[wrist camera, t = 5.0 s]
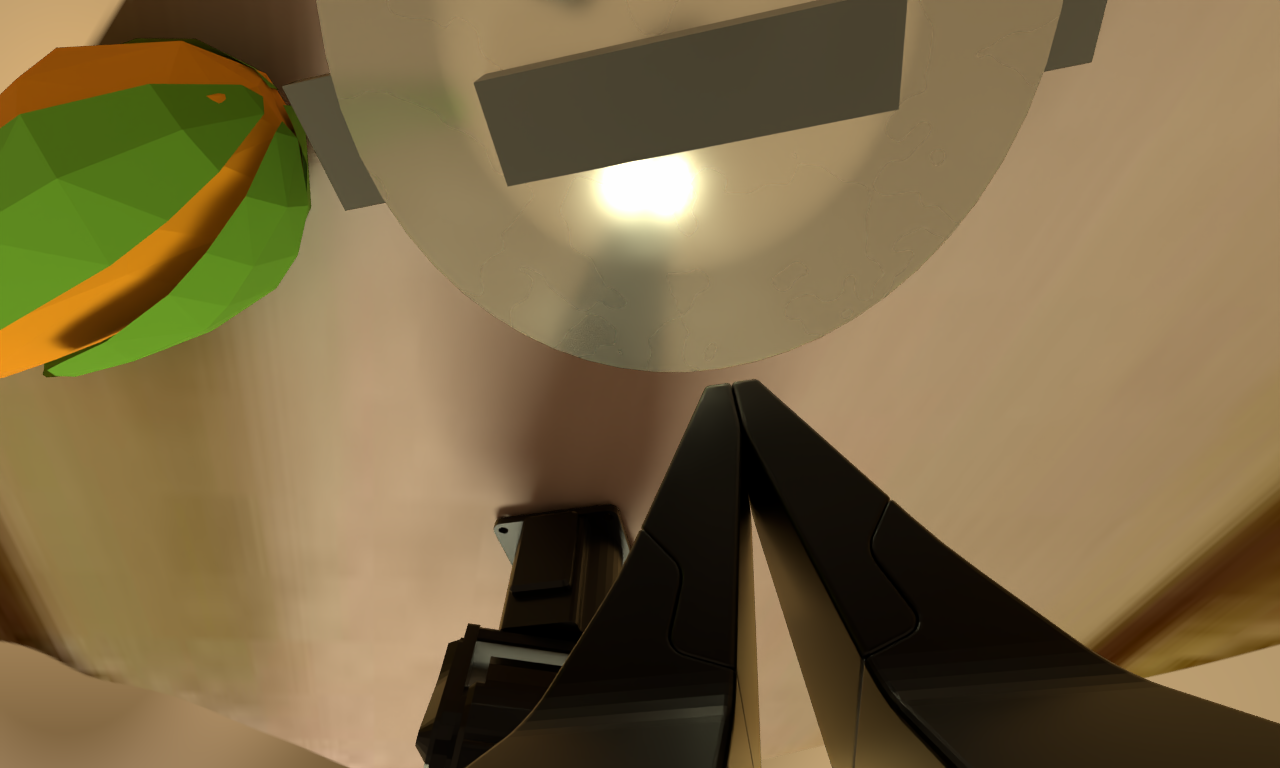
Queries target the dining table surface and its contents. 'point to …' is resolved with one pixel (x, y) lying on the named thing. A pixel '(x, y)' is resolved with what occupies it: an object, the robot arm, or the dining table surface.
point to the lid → (682, 155)
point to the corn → (140, 201)
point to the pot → (358, 190)
